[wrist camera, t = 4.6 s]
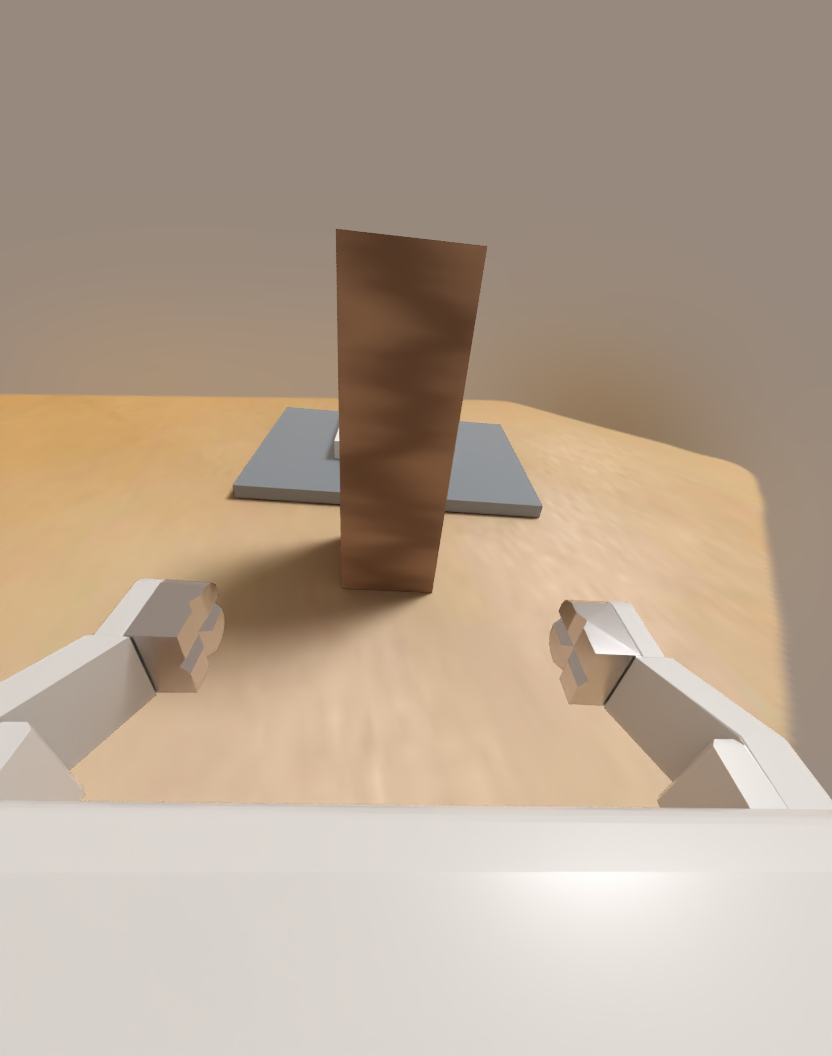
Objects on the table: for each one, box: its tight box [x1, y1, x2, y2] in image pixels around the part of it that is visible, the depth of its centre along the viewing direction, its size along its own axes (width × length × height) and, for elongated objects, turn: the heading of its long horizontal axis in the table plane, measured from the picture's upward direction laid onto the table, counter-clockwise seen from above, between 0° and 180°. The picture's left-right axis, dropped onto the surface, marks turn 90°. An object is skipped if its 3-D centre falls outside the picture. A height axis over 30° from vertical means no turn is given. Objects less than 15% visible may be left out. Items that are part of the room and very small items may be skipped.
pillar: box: [336, 229, 487, 593], centre depth 20 cm, size 5×5×16 cm
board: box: [233, 407, 543, 517], centre depth 36 cm, size 22×16×1 cm
